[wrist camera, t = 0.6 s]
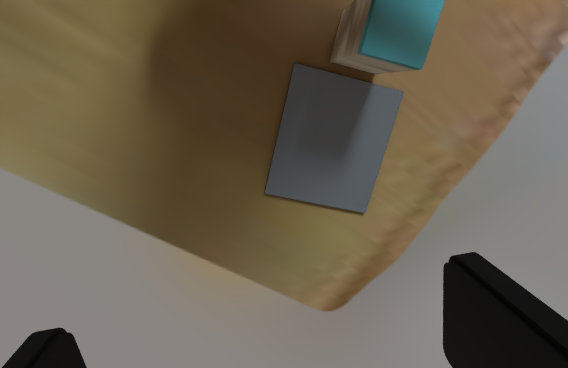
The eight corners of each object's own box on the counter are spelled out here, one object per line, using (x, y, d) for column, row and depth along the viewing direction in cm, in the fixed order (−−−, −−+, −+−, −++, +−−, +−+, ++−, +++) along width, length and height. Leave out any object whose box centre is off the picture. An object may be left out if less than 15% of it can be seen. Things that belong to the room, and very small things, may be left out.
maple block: (342, 9, 33) (381, -22, 23) (389, 23, 34) (445, -2, 24) (329, 61, 34) (361, 52, 25) (374, 74, 35) (422, 69, 25)
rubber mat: (294, 63, 34) (294, 63, 33) (402, 91, 36) (403, 91, 35) (264, 192, 37) (264, 193, 37) (364, 211, 39) (365, 213, 39)
